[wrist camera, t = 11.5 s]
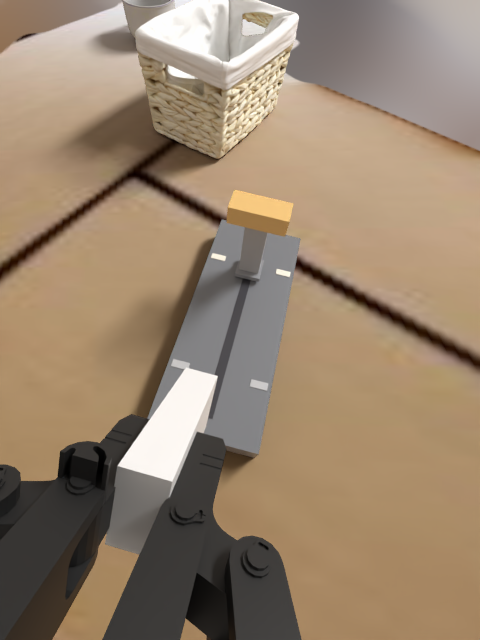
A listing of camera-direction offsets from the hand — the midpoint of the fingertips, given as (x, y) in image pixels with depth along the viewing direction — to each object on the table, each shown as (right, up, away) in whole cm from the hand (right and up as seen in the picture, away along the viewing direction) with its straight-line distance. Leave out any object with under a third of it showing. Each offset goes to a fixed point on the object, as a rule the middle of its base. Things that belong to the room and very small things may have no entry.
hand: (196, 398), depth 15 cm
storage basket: (-2, +41, +46) cm, 62 cm away
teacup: (-17, +68, +60) cm, 92 cm away
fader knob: (+3, +10, +25) cm, 27 cm away
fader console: (+1, +3, +25) cm, 25 cm away
